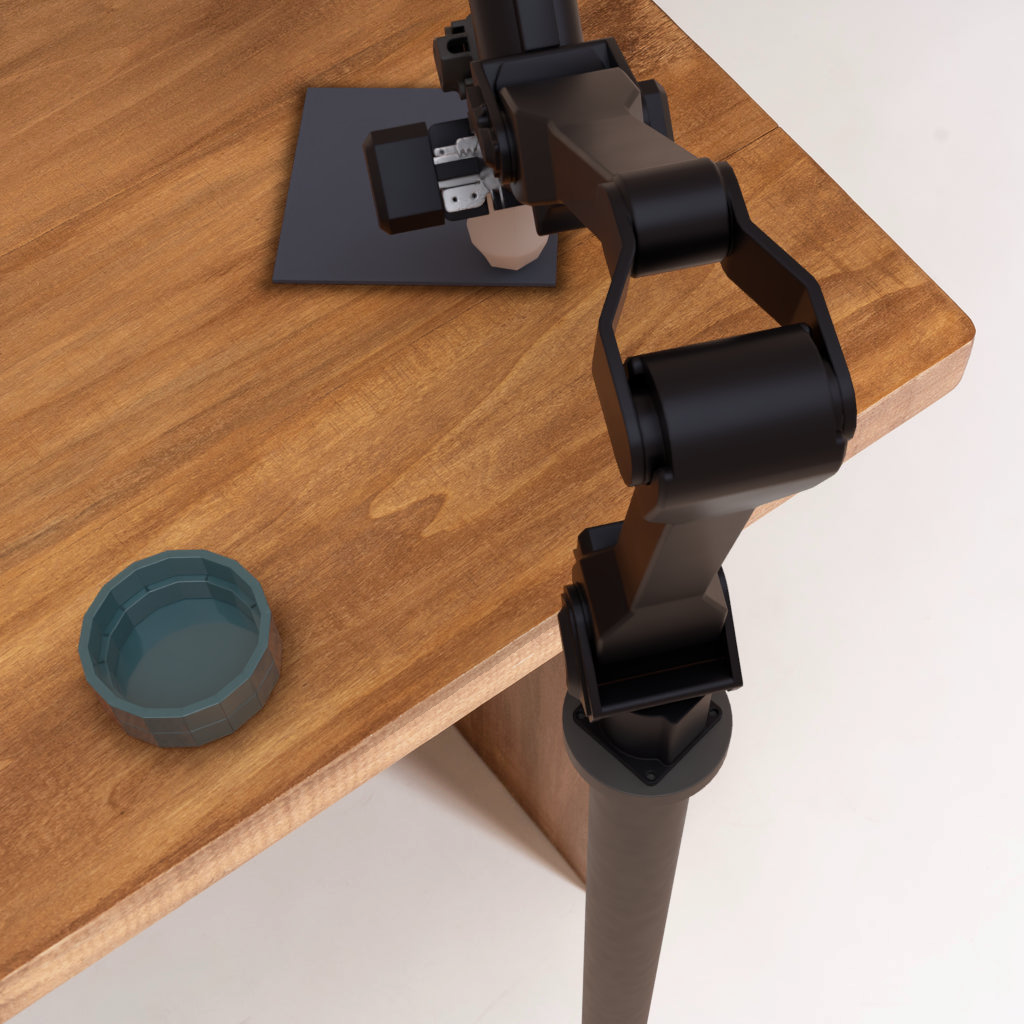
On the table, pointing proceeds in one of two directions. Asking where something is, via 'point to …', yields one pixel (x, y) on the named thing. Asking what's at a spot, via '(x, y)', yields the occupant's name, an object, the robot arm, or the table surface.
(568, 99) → the robot arm
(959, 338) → the table surface
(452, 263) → the cloth
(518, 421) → the table surface
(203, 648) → the blue-grey round bowl
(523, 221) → the salt shaker
